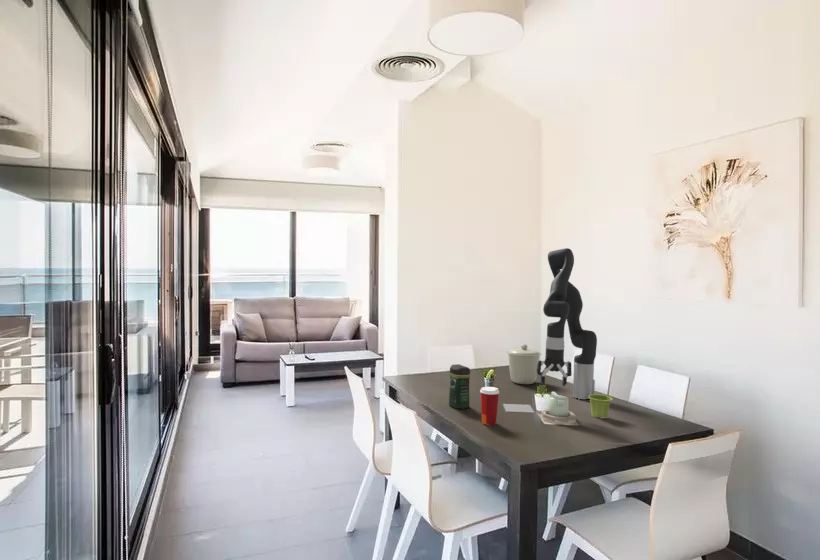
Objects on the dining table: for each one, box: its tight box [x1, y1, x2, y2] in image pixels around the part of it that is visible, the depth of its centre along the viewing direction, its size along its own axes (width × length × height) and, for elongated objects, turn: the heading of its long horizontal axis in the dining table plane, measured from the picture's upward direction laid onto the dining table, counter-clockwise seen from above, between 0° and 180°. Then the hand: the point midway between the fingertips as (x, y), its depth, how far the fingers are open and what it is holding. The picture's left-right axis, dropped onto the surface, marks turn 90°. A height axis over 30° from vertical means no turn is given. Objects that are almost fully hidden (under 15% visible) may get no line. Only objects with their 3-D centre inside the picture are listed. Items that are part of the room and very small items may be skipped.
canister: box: [507, 343, 542, 385], centre depth 274 cm, size 18×18×21 cm
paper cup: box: [479, 386, 500, 426], centre depth 200 cm, size 8×8×14 cm
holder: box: [537, 408, 580, 426], centre depth 206 cm, size 14×14×3 cm
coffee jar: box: [448, 363, 471, 410], centre depth 224 cm, size 10×8×19 cm
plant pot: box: [589, 394, 613, 418], centre depth 212 cm, size 9×9×9 cm
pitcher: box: [547, 391, 570, 417], centre depth 208 cm, size 15×8×9 cm, turn 177°
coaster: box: [502, 403, 536, 414], centre depth 221 cm, size 12×12×1 cm
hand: (553, 385), depth 214 cm, fingers open, 8 cm apart
